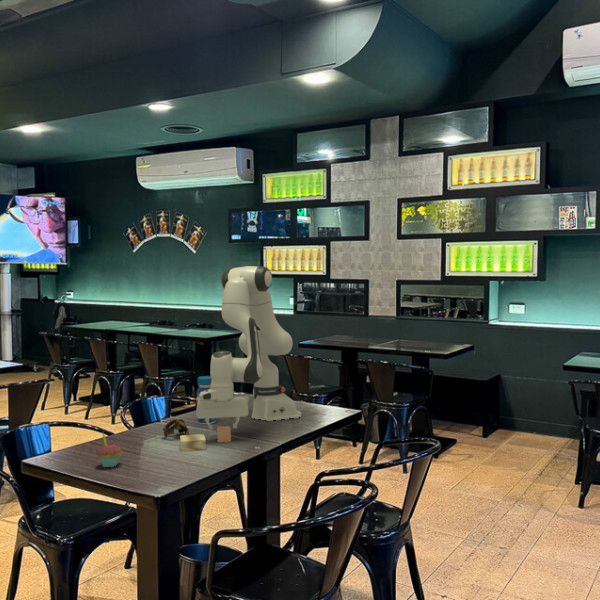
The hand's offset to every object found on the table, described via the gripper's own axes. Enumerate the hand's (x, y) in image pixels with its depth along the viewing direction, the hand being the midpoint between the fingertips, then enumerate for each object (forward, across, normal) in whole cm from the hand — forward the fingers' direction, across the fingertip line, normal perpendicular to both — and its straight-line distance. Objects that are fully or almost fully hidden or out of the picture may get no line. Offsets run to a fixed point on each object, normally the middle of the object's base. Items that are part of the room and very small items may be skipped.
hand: (222, 428), depth 244 cm
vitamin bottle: (+4, +6, -32) cm, 32 cm away
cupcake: (+6, +39, +23) cm, 46 cm away
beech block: (+5, +12, +6) cm, 14 cm away
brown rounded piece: (+5, +18, -11) cm, 21 cm away
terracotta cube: (+5, 0, 0) cm, 5 cm away
